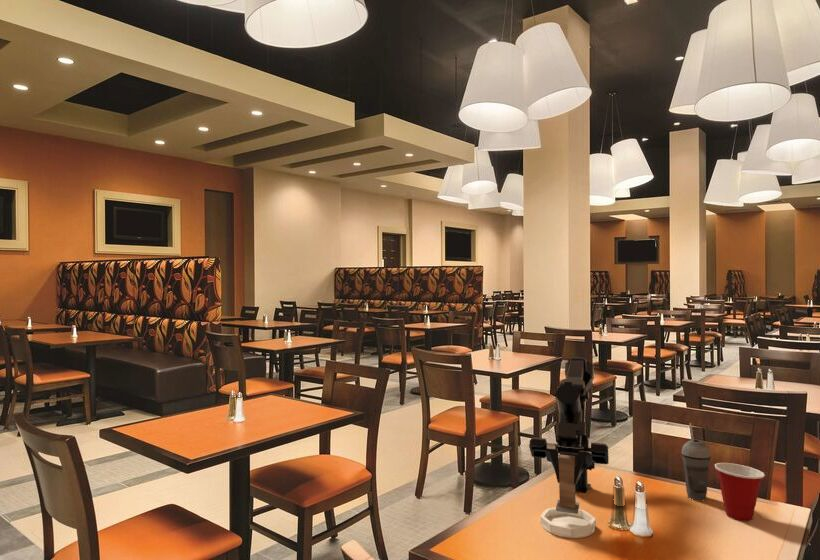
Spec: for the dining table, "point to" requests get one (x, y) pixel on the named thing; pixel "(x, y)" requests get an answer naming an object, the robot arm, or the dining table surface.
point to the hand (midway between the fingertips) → (566, 483)
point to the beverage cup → (696, 467)
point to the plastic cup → (739, 489)
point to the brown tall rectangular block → (567, 485)
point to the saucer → (568, 523)
